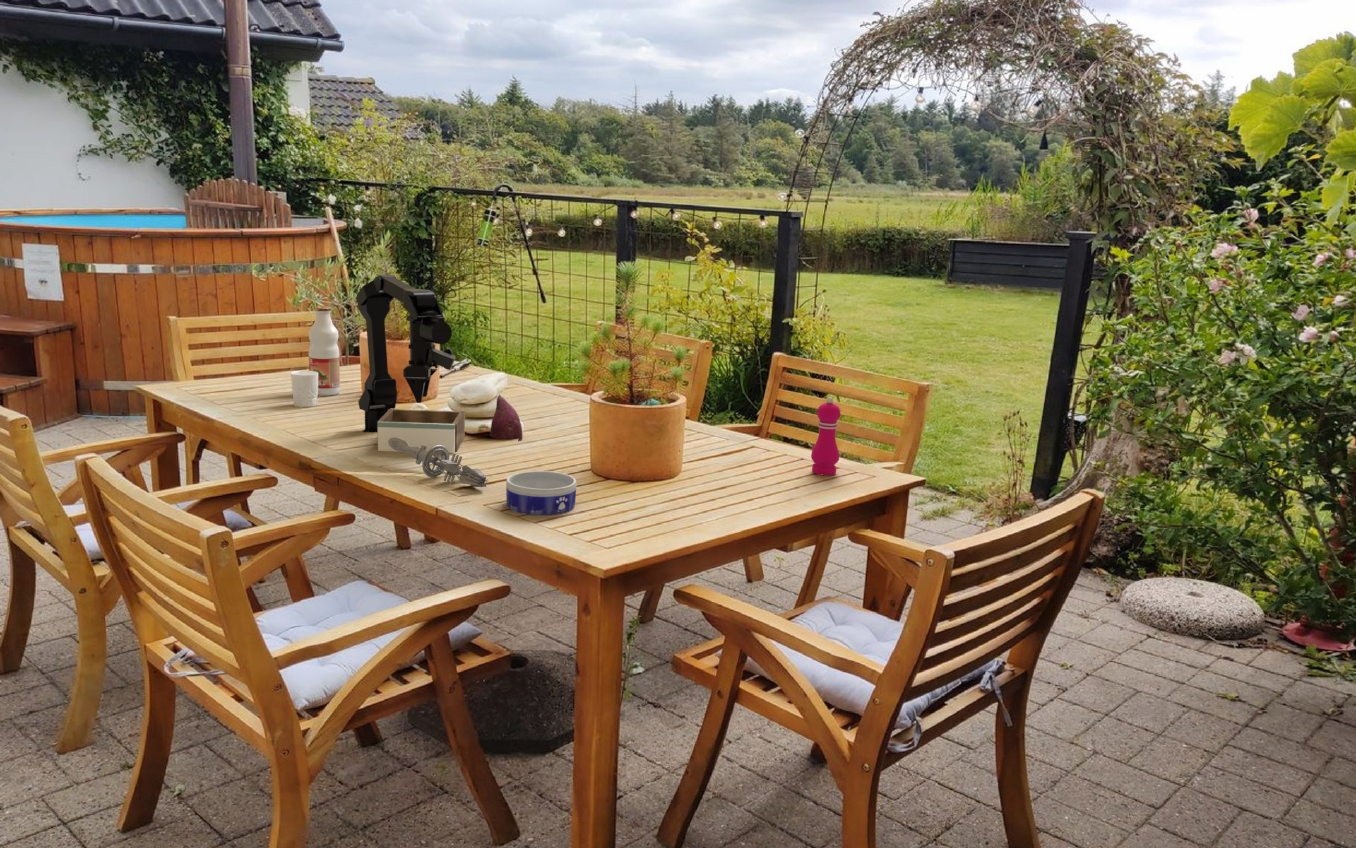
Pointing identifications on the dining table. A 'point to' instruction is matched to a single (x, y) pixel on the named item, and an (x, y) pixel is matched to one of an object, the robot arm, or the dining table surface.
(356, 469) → the dining table surface
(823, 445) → the pepper mill
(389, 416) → the crate
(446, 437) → the tailgate
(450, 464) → the spaceship
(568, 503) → the dog bowl
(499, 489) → the dining table surface
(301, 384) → the white cup
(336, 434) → the dining table surface
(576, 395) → the dining table surface
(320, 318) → the fruit juice
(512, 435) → the vegetable
